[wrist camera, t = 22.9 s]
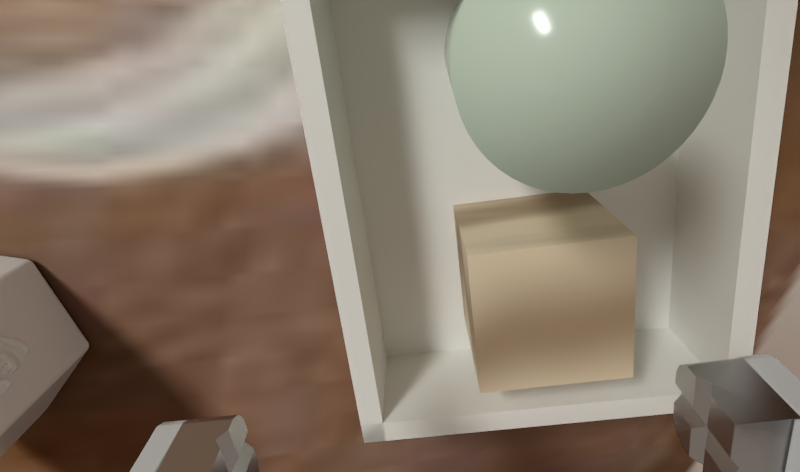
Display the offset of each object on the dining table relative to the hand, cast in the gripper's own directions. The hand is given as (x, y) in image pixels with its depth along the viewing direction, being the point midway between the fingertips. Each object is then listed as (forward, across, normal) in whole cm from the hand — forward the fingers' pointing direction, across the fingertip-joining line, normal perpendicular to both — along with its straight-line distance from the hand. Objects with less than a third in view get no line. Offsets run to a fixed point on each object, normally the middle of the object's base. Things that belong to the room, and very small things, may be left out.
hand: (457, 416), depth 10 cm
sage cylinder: (+12, -4, -5) cm, 13 cm away
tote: (+12, -4, -1) cm, 13 cm away
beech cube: (+11, -3, +2) cm, 12 cm away
